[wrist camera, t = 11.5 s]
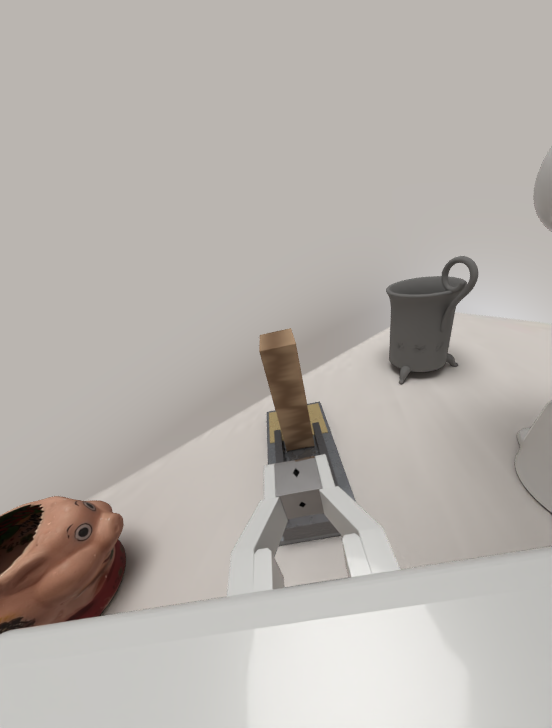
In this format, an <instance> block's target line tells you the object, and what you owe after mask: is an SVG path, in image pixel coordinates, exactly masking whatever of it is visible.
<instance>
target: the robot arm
mask: <svg viewBox="0 0 552 728" xmlns="http://www.w3.org/2000/svg"><path fill="white" fill-rule="evenodd" d="M534 206H535V210H536V212H537V215H538V217H539V218H540V221H541V222H542V223H543V224H544V226H545V227H547V228H548V229H549V230H550V231H551V232H552V147H551V148H550V150H549V152H548V153H547V155H546V157H545V159H544V160H543V163H542V165H541V167H540V170H539V172H538V175H537V178H536V182H535V187H534ZM517 439H518V442H519V445H520V449H519V452H518V453H517V455H516V458H515V468H516V472H517V474H518V476H519V478H520V480H521V482H522V483H523V485H524V486H525V487H526V489H527V490H528V491H529V492H530V493H531V494H532V496H533V497H534V498H535V499H536V500H537V501H538V502H540V503H541V504H542V505H543V506H544V507H545V508H546V509H548V510H549V511H550V512H551V513H552V400H551V401H550V402H548V403H547V404H546V406H545V407H544V409H543V410H542V412H541V413H540V415H539V416H538V418H537V419H536V421H535V422H534V424H533V426H532V427H531V428H524V429H521V430H520V431H519V433H518V434H517ZM322 513H324V514H325V516H326V517H327V518H328V519H329V521H330V522H331V523H332V524H333V526H334V527H335V528H336V529H337V531H338V532H339V533H340V534H341V536H342V537H343V539H342V543H343V549H344V556H345V563H346V569H347V573H348V577H349V578H343V579H336V580H330V581H323V582H317V583H310V584H304V585H297V586H291V587H284V577H283V575H282V573H281V570H280V568H279V566H278V564H277V562H276V560H275V558H274V557H275V554H276V551H277V549H278V546H279V543H280V541H281V538H282V535H283V533H284V530H285V527H286V524H287V522H288V519H293V518H298V517H302V516H308V515H315V514H322ZM0 728H552V546H549V547H543V548H536V549H530V550H523V551H517V552H510V553H504V554H497V555H491V556H485V557H478V558H472V559H465V560H459V561H452V562H446V563H439V564H433V565H426V566H420V567H414V568H407V569H401V570H400V567H399V565H398V563H397V560H396V558H395V555H394V553H393V551H392V548H391V546H390V543H389V541H388V539H387V536H386V534H385V531H384V529H383V527H382V526H381V525H379V524H378V523H377V522H376V521H375V520H374V519H373V518H372V517H371V516H370V515H369V514H368V513H367V512H366V511H365V510H363V509H362V508H361V507H360V506H359V505H358V504H357V503H356V502H355V501H354V500H353V499H352V498H351V497H350V496H349V495H347V494H346V493H345V492H344V491H343V490H342V489H341V488H340V487H339V486H336V487H335V484H334V480H333V477H332V474H331V470H330V467H329V463H328V460H327V457H326V455H325V454H323V455H318V456H311V457H306V458H301V459H296V460H293V461H287V462H281V463H275V464H269V465H264V499H263V500H260V502H259V504H258V506H257V508H256V509H255V511H254V513H253V515H252V517H251V518H250V520H249V522H248V524H247V525H246V527H245V529H244V531H243V533H242V534H241V536H240V538H239V540H238V542H237V543H236V545H235V547H234V549H233V550H232V552H231V561H230V570H229V580H228V589H227V596H226V597H220V598H214V599H207V600H201V601H194V602H188V603H181V604H175V605H169V606H162V607H156V608H149V609H143V610H136V611H130V612H123V613H117V614H111V615H104V616H98V617H91V618H85V619H78V620H72V621H66V622H59V623H53V624H47V625H40V626H34V627H27V628H20V629H14V630H9V631H6V632H4V633H2V634H0Z"/></svg>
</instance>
